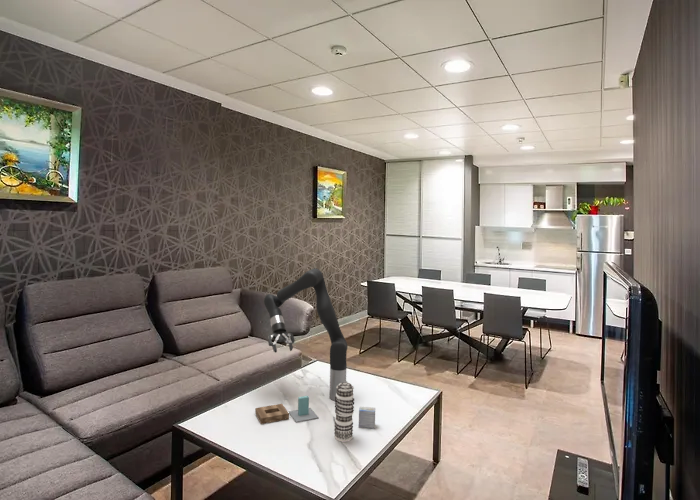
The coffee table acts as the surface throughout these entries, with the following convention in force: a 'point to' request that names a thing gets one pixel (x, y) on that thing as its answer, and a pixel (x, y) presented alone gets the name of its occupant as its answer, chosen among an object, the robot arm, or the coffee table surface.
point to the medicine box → (367, 417)
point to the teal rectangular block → (303, 405)
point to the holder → (271, 413)
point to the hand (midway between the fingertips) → (283, 351)
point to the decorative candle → (344, 412)
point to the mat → (303, 416)
